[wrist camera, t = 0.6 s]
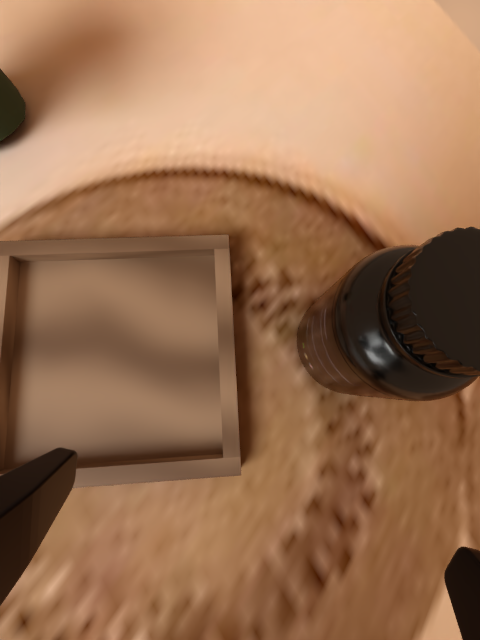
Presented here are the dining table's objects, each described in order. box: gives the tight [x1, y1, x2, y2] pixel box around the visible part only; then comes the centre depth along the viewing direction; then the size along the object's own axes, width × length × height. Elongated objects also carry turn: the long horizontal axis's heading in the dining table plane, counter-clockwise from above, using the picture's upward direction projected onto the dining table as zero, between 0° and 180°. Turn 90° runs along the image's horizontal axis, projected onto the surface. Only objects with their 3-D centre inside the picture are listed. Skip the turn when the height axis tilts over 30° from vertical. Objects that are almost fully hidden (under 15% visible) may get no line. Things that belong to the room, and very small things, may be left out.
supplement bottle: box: [297, 227, 480, 401], centre depth 15 cm, size 7×7×12 cm
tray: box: [0, 235, 241, 488], centre depth 20 cm, size 15×15×2 cm
